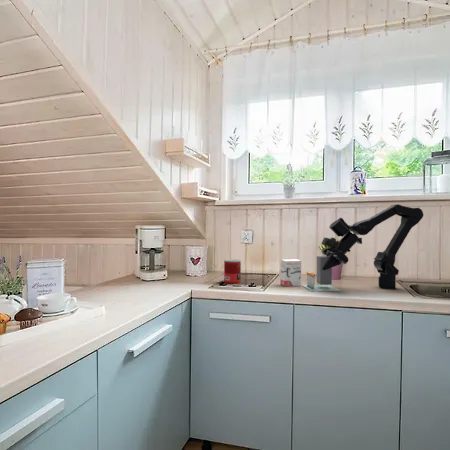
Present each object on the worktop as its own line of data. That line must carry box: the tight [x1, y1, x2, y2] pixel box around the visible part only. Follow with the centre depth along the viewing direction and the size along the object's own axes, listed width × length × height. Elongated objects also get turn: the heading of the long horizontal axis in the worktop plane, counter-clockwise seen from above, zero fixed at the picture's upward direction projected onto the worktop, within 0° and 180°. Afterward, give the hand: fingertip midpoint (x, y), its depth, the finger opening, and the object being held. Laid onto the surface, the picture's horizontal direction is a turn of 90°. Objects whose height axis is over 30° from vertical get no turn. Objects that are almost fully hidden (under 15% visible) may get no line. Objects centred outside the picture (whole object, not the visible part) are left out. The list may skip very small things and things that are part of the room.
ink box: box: [280, 258, 302, 287], centre depth 164 cm, size 9×5×12 cm, turn 105°
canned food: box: [223, 258, 242, 285], centre depth 171 cm, size 8×8×11 cm
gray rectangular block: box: [316, 254, 333, 286], centre depth 156 cm, size 5×5×13 cm
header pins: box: [306, 271, 316, 289], centre depth 156 cm, size 2×8×6 cm, turn 4°
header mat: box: [301, 284, 341, 292], centre depth 156 cm, size 13×13×1 cm
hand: (321, 268), depth 156 cm, fingers closed on gray rectangular block, 5 cm apart
